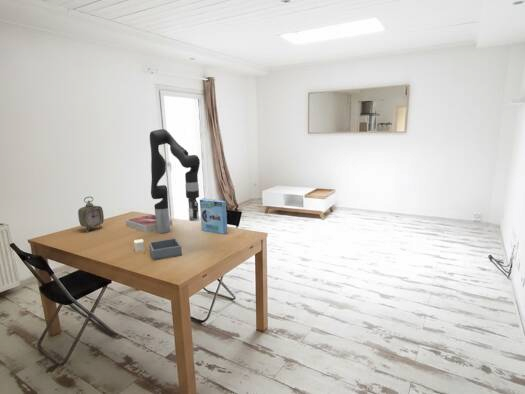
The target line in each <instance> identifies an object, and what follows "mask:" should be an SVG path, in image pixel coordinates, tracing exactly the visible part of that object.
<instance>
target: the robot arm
mask: <svg viewBox="0 0 525 394" xmlns="http://www.w3.org/2000/svg"><path fill="white" fill-rule="evenodd" d="M149 143H150V144H149V145H150V158H151V159H150V160H151V161H150V170H151V171H150V172H151V174H150V175H151V181H150V182H151V185H150V195H151V198H152V200H160V201H159V202H157V203H155V204H154V215H155V218H156V229H157V230H156V233H157V234H166V233H169V232H170V231H171V226H170V222H169V219H170V211H169V199H168V198H169V196H168V195H169V194H168V187H167V185H165V184H162V185H158V183H159V182H160V181H161V179H162V178H163V176H164V175H165V173H166V171H167V170H166V169H167V162H166V159H165V158H164V156H163V155H162V154H161V152H160V151H159V150H160V149H159V147H160V146H161V145H166V144H168V145H169V150H170V153H171V154H172V156H174V157H175V158H176V159H178V161H179V163H180V165H181V166H182V167H183V168H185V169H189V170H188V171H187V172H185V176H184V177H185V180H184V181H185V197H186V199H187V200H188V209H189V208H191V209H192V210H193V218H194V219H196V218H197V212H198V213H199V202H198V200H197V198H199V197H200V190H199V189H200V188H199V179H198V178H199V177H198V175H199V169H200V165H201V161H200V158H199V156H198V155H197V154H191V155H189V152H188V150H186V149H185V148H184V147H183V146H182V145H180V144H179V143H178V142H177V140H176V139H175V138H174V137H173V136H172V134H171V133H170V132H169V131H168V130H166V129H165V128H164V129H163V128H162V129H155V130H152V131H150V133H149ZM195 209H196V210H195Z"/></svg>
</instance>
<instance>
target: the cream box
mask: <svg viewBox="0 0 525 394" xmlns="http://www.w3.org/2000/svg"><path fill="white" fill-rule="evenodd" d="M133 245H134V246H133V247H134V251H135V252H136V253H137V252H143V251H145V242H144V239H143V238H141V239H134V240H133Z"/></svg>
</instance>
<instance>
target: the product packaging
mask: <svg viewBox="0 0 525 394" xmlns="http://www.w3.org/2000/svg"><path fill="white" fill-rule="evenodd" d="M169 222H170V227H171V226H173V219H171V218H169ZM125 223H126V227H130V228H132V229H136V230H138V231H141V232H144V233H150V232H153V231H157V229H156V218H155V214H152V213H151V214H150V213H149V214H147V215H142V216H138V217H134V218H133V217H132V218H128V219H126V220H125Z"/></svg>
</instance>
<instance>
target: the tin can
mask: <svg viewBox="0 0 525 394" xmlns="http://www.w3.org/2000/svg"><path fill="white" fill-rule="evenodd" d="M195 210H196V209H195ZM199 216H200V215H199V211H198V212H197V218H196V219H194V218H193V210H192V209H191V208H189V207H188V219H189V221H191V222H194V221H195V222H197V221H199V220H200V217H199Z"/></svg>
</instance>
